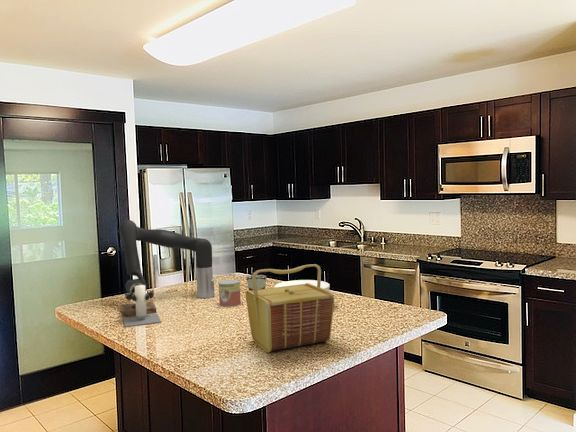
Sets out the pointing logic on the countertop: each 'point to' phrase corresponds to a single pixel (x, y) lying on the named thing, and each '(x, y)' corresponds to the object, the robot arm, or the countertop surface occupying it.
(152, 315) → the grey mat
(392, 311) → the countertop surface
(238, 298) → the canned food
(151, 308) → the walnut holder
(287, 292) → the picnic basket
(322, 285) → the plate stack
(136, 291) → the cream cylinder
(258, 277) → the food container
